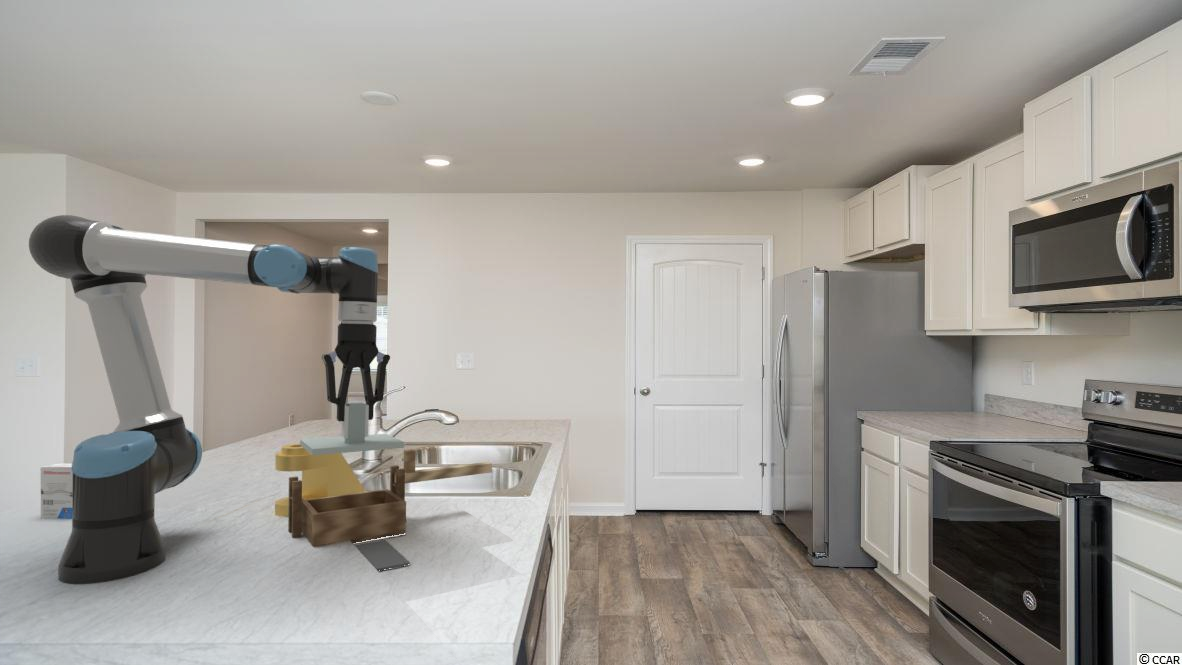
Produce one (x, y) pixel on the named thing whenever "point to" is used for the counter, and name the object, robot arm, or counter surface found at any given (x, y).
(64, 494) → the ink box
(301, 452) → the yellow clevis bracket
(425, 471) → the key
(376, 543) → the mat
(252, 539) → the counter surface
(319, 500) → the wooden rack
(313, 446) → the lid
